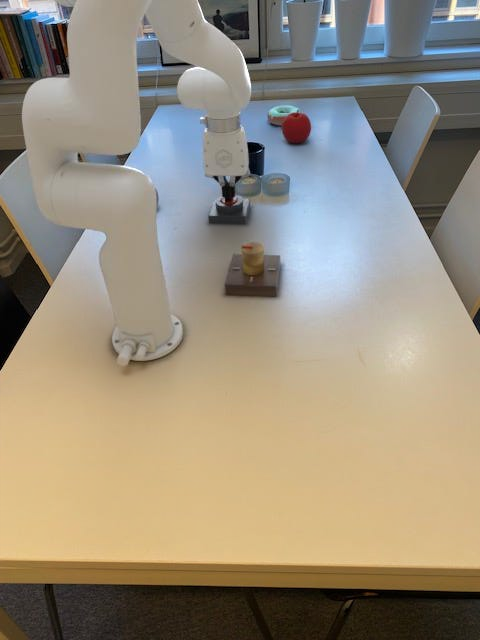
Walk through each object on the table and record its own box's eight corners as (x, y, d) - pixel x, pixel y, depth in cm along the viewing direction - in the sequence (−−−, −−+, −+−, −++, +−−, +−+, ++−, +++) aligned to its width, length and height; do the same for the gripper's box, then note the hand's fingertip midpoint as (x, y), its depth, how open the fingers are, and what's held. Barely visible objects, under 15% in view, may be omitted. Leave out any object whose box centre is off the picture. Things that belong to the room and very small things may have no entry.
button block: (245, 224, 118) (245, 209, 115) (209, 223, 119) (207, 208, 116) (250, 207, 125) (249, 192, 122) (215, 206, 126) (214, 192, 123)
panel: (276, 296, 95) (276, 285, 94) (225, 294, 97) (224, 283, 95) (280, 265, 104) (280, 254, 102) (233, 263, 105) (232, 253, 103)
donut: (302, 115, 176) (302, 104, 174) (300, 127, 167) (300, 115, 165) (269, 116, 178) (268, 104, 175) (265, 127, 169) (265, 115, 166)
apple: (312, 136, 160) (313, 104, 154) (308, 147, 153) (309, 114, 147) (284, 135, 162) (284, 104, 156) (279, 145, 155) (279, 113, 149)
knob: (265, 263, 100) (265, 240, 97) (263, 275, 97) (262, 252, 93) (244, 262, 101) (243, 240, 97) (241, 274, 97) (239, 252, 94)
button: (235, 210, 119) (235, 203, 118) (221, 209, 119) (220, 203, 118) (237, 203, 121) (237, 196, 120) (223, 202, 122) (222, 196, 121)
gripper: (186, 128, 106) (196, 206, 117) (255, 128, 104) (258, 207, 115) (193, 117, 111) (202, 192, 123) (259, 116, 109) (261, 193, 121)
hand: (229, 199), depth 119 cm, fingers closed
